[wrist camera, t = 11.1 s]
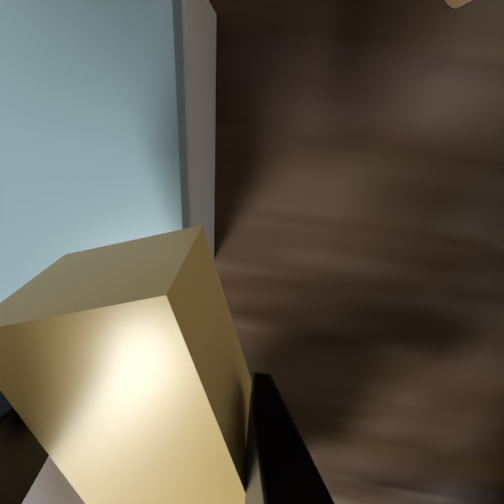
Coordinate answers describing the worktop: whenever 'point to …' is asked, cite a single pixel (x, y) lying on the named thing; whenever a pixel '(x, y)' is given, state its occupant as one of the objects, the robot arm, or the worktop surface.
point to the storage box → (200, 111)
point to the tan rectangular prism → (132, 372)
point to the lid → (88, 128)
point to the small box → (456, 3)
